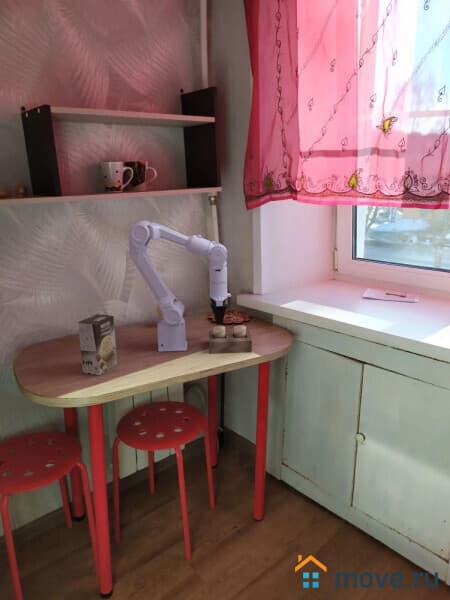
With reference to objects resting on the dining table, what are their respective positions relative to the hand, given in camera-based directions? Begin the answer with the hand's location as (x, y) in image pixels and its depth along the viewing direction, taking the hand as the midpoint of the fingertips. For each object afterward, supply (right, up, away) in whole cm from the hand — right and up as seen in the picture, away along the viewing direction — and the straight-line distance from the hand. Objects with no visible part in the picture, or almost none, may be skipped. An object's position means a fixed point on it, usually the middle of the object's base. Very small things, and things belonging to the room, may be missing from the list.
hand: (219, 320), depth 155 cm
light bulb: (-21, -4, +24) cm, 32 cm away
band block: (+4, -9, +3) cm, 10 cm away
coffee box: (-36, -14, -13) cm, 41 cm away
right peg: (+7, -6, +2) cm, 9 cm away
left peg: (0, -6, +2) cm, 6 cm away
